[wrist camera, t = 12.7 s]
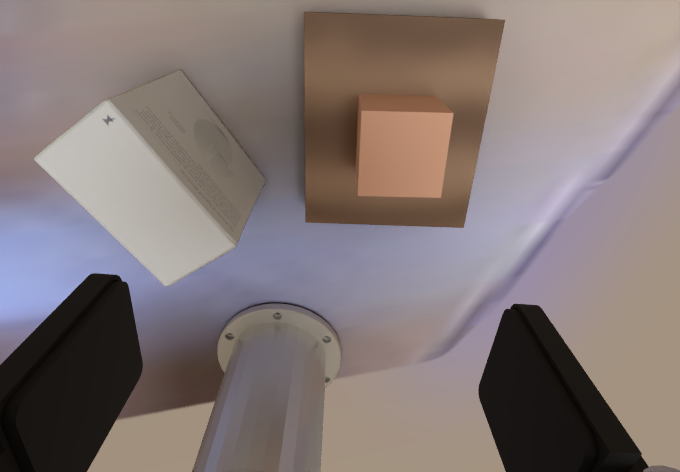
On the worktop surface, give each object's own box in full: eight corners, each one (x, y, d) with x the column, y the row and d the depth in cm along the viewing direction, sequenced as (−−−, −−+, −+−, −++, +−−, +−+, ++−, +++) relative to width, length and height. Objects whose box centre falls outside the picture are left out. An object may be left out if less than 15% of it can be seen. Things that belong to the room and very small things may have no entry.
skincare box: (118, 116, 32) (26, 159, 22) (180, 67, 30) (108, 93, 21) (209, 219, 36) (162, 292, 27) (268, 182, 34) (240, 245, 25)
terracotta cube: (426, 169, 29) (440, 197, 25) (355, 168, 29) (357, 195, 25) (435, 96, 27) (453, 112, 22) (358, 94, 27) (361, 110, 22)
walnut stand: (451, 205, 35) (463, 227, 31) (309, 200, 35) (305, 222, 31) (485, 18, 28) (504, 19, 25) (309, 11, 28) (304, 12, 25)
